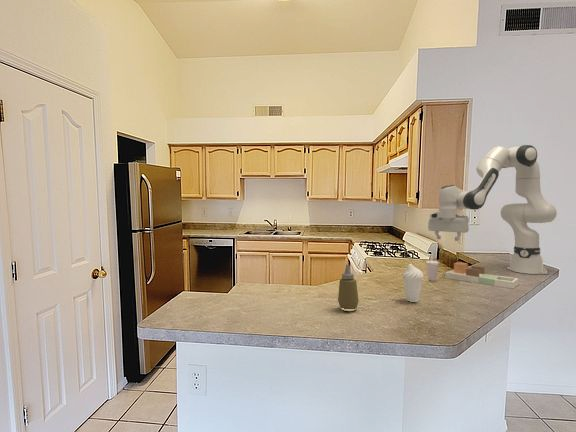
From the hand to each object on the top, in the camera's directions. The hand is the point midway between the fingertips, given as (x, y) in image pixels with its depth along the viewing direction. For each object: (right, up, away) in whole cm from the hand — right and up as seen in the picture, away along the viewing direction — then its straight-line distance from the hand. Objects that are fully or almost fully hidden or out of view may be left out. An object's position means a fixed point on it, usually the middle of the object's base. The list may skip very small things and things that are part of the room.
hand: (447, 239), depth 172 cm
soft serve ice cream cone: (-35, -23, -40) cm, 58 cm away
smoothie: (-11, -21, -7) cm, 25 cm away
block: (+5, -17, -4) cm, 18 cm away
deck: (+11, -20, -11) cm, 26 cm away
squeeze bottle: (-64, -24, -48) cm, 84 cm away
